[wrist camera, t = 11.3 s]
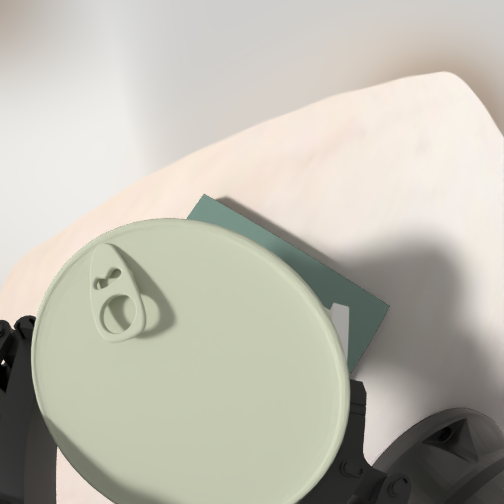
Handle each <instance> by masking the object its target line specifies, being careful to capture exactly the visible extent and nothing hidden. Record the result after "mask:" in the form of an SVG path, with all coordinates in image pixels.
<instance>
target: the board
mask: <svg viewBox="0 0 504 504" xmlns="http://www.w3.org/2000/svg"><path fill="white" fill-rule="evenodd" d="M187 219H189V220H196V221H201V222H206V223H210V224H215V225H218V226H221V227H224V228H226V229H229V230H232V231H234V232H237V233H239V234H241V235H244V236H246V237H248V238H250V239H252V240H254V241H255V242H257V243H259V244H260V245H262V246H264V247H265V248H267V249H268V250H270V251H271V252H272V253H274V254H275V255H277V256H278V257H279V258H281V259H282V260H283V261H284V262H285V263H286V264H288V265H289V266H290V267H291V268H292V269H293V270H294V271H295V272H296V273H298V275H299V276H300V277H301V278H302V279H303V280H304V281H305V282H306V283H307V284H308V286H309V287H310V288H311V289H312V291H313V292H314V293H315V294H316V296H317V297H318V299H319V300H320V302H321V303H322V305H323V306H324V308H325V309H326V311H327V312H328V313H329V311H330V309H331V307H332V305H333V303H337V304H340V305H344V306H347V307H349V333H348V356H347V366H348V371H349V375H350V374H351V372H352V371H353V369H354V368H355V366H356V364H357V363H358V361H359V360H360V358H361V356H362V355H363V353H364V351H365V350H366V348H367V346H368V345H369V343H370V341H371V339H372V338H373V336H374V334H375V332H376V331H377V329H378V327H379V325H380V323H381V321H382V320H383V318H384V316H385V314H386V312H387V310H388V308H389V305H387V304H386V303H384V302H383V301H381V300H380V299H378V298H376V297H375V296H373V295H372V294H370V293H369V292H367V291H365V290H364V289H362V288H361V287H359V286H357V285H356V284H354V283H353V282H351V281H349V280H348V279H346V278H345V277H343V276H341V275H340V274H338V273H337V272H335V271H333V270H332V269H330V268H329V267H327V266H325V265H324V264H322V263H320V262H319V261H317V260H315V259H314V258H312V257H311V256H309V255H307V254H306V253H304V252H302V251H301V250H299V249H297V248H296V247H294V246H292V245H291V244H289V243H287V242H286V241H284V240H282V239H281V238H279V237H277V236H276V235H274V234H272V233H271V232H269V231H267V230H266V229H264V228H262V227H261V226H259V225H257V224H255V223H254V222H252V221H250V220H249V219H247V218H245V217H244V216H242V215H240V214H238V213H237V212H235V211H233V210H232V209H230V208H228V207H226V206H225V205H223V204H221V203H219V202H218V201H216V200H214V199H212V198H211V197H209V196H207V195H205V194H204V195H203V196H202V197H201V199H200V200H199V202H198V203H197V204H196V206H195V207H194V209H193V210H192V212H191V213H190V214H189V216H188V217H187Z"/></svg>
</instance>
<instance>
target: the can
mask: <svg viewBox="0 0 504 504" xmlns="http://www.w3.org/2000/svg"><path fill="white" fill-rule="evenodd" d="M31 365H32V378H33V384H34V389H35V393H36V398H37V402H38V405H39V408H40V411H41V414H42V416H43V419H44V421H45V423H46V426H47V428H48V430H49V432H50V434H51V436H52V438H53V439H54V441H55V443H56V444H57V446H58V448H59V449H60V451H61V452H62V454H63V455H64V457H65V458H66V459H67V460H68V462H69V463H70V464H71V465H72V467H73V468H74V469H75V470H76V471H77V472H78V473H79V474H80V475H81V477H82V478H83V479H85V480H86V481H87V482H88V483H89V484H90V485H91V486H92V487H93V488H94V489H96V490H97V491H98V492H100V493H101V494H102V495H103V496H105V497H106V498H108V499H109V500H110V501H112V502H114V503H115V504H295V503H296V502H298V501H299V500H300V499H302V498H303V497H304V496H305V495H306V494H307V493H308V492H309V491H310V490H311V489H312V488H313V487H314V486H315V485H316V484H317V483H318V482H319V481H320V480H321V478H322V477H323V476H324V475H325V473H326V472H327V470H328V469H329V467H330V465H331V464H332V462H333V461H334V459H335V457H336V454H337V452H338V450H339V448H340V446H341V443H342V441H343V438H344V434H345V430H346V427H347V423H348V417H349V411H350V380H349V371H348V366H347V361H346V357H345V353H344V349H343V346H342V343H341V340H340V337H339V335H338V333H337V330H336V328H335V325H334V324H333V322H332V320H331V318H330V316H329V314H328V312H327V311H326V309H325V308H324V306H323V305H322V303H321V302H320V300H319V299H318V297H317V296H316V294H315V293H314V292H313V291H312V289H311V288H310V287H309V286H308V284H307V283H306V282H305V281H304V280H303V279H302V278H301V277H300V276H299V275H298V273H296V272H295V271H294V270H293V269H292V268H291V267H290V266H289V265H288V264H286V263H285V262H284V261H283V260H282V259H281V258H279V257H278V256H277V255H275V254H274V253H272V252H271V251H270V250H268V249H267V248H265V247H264V246H262V245H260V244H259V243H257V242H255V241H254V240H252V239H250V238H248V237H246V236H244V235H241V234H239V233H237V232H234V231H232V230H229V229H226V228H224V227H221V226H218V225H215V224H210V223H206V222H201V221H196V220H189V219H176V218H163V219H150V220H144V221H138V222H134V223H130V224H127V225H124V226H121V227H118V228H115V229H113V230H111V231H108V232H106V233H104V234H102V235H100V236H99V237H97V238H95V239H94V240H92V241H91V242H89V243H88V244H86V245H85V246H84V247H83V248H81V249H80V250H79V251H78V252H77V253H76V254H75V255H74V256H73V257H71V258H70V259H69V260H68V261H67V262H66V263H65V265H64V266H63V267H62V268H61V270H60V271H59V272H58V274H57V275H56V276H55V278H54V279H53V281H52V283H51V284H50V286H49V288H48V290H47V291H46V293H45V296H44V298H43V300H42V303H41V305H40V308H39V311H38V314H37V318H36V321H35V326H34V331H33V337H32V347H31Z"/></svg>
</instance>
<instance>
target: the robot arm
mask: <svg viewBox="0 0 504 504" xmlns="http://www.w3.org/2000/svg"><path fill="white" fill-rule="evenodd" d="M328 314H329V316H330V318H331V320H332V322H333V324H334V325H335V328H336V330H337V333H338V335H339V337H340V340H341V343H342V346H343V349H344V353H345V357H346V361H347V356H348V333H349V307H347V306H344V305H340V304H337V303H333V305H332V307H331V309H330V311H329V313H328ZM35 321H36V317H34V316H31V315H29V316H24V317H21V318H20V319H19V320H17V321H16V323H15V325H14V328H15V330H13V329H12V328H11V326H10V324H9V323H8V322H7V321H5V320H0V504H56V458H57V444H56V443H55V441H54V439H53V438H52V436H51V434H50V432H49V430H48V428H47V426H46V423H45V421H44V419H43V416H42V414H41V411H40V408H39V405H38V402H37V398H36V393H35V389H34V384H33V378H32V365H31V347H32V337H33V331H34V326H35ZM3 360H4V361H5V363H4V364H2V365H1V363H2V361H3ZM349 380H350V411H349V417H348V423H347V427H346V430H345V434H344V438H343V441H342V443H341V446H340V448H339V450H338V452H337V454H336V457H335V459H334V461H333V462H332V464H331V465H330V467H329V469H328V470H327V472H326V473H325V475H324V476H323V477H322V478H321V480H320V481H319V482H318V483H317V484H316V485H315V486H314V487H313V488H312V489H311V490H310V491H309V492H308V493H307V494H306V495H305V496H304V497H303V498H302V499H300V500H299V501H298V502H296V503H295V504H504V434H503V433H502V432H501V430H500V429H499V428H498V426H497V425H496V424H495V422H494V421H493V420H492V419H490V418H489V417H487V416H486V415H484V414H481V413H479V412H476V411H474V410H471V409H467V408H455V409H449V410H446V411H442V412H440V413H437V414H435V415H432V416H430V417H428V418H427V419H425V420H423V421H421V422H420V423H418V424H416V425H415V426H413V427H412V428H410V429H409V430H408V431H406V432H405V433H404V434H403V435H401V436H400V437H399V438H398V439H397V440H395V441H394V442H393V443H392V444H391V445H390V446H389V447H388V448H387V449H386V450H385V451H384V452H383V453H382V454H381V456H380V457H379V458H378V459H377V460H376V462H375V463H374V464H373V465H372V466H370V465H369V464H368V463H367V461H366V460H365V458H364V454H363V442H364V430H365V414H366V407H365V406H366V394H367V393H366V391H365V388H364V385H363V382H361V381H356V380H351V379H349Z"/></svg>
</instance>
